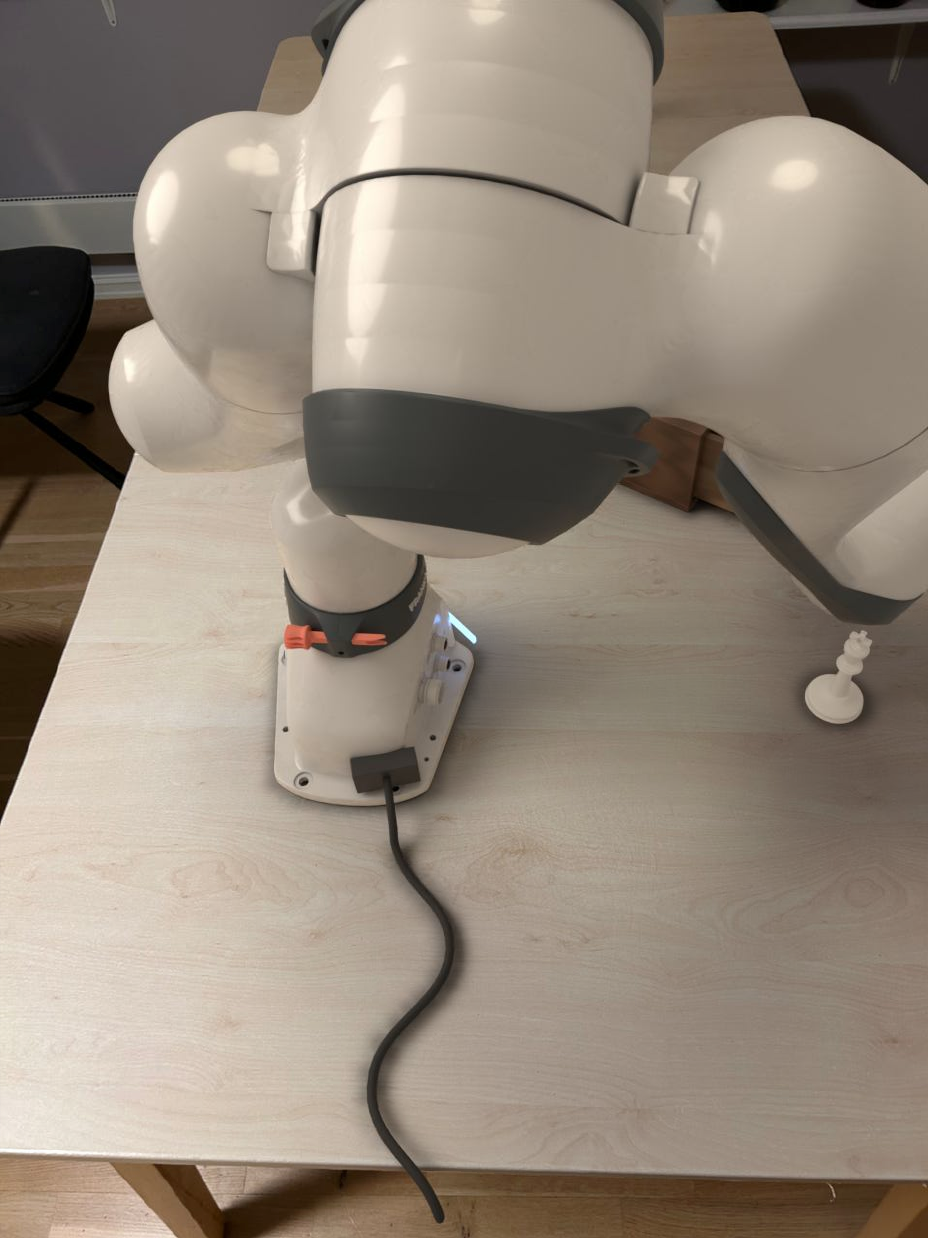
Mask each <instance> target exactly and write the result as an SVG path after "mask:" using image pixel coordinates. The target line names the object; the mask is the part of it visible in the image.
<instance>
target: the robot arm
mask: <svg viewBox="0 0 928 1238" xmlns="http://www.w3.org/2000/svg"><path fill="white" fill-rule="evenodd" d="M310 39H311V41H312V43H313V45H314V47H315V49H316V51H317V52H318V54H319V56H320V57H321V58H322V59H323V60H322V65H321V70H320V73H321V77H322V80H321V81H320V84H319V86H318V88H317V91H316V93H315V95H314V97H313V99H312V101H311V102H310V103H309V104H308V105H307V106H306V107H304V109H303V110H301V111H300V112H298V113H294V114H280V113H279V114H278V113H273V112H266V111H257V110H256V111H255V110H240V111H227V112H224V113H219V114H215V115H212V116H209V117H207V118H204V119H202V120H200V121H199V120H198V121H197V122H195V123H193V124H192V125H190V126H188V127H186V128H185V129H183V130H182V131H180V132H179V133H177V134H176V135H175V136H174V137H173V138H172V139H171V140H169V141H168V142H167V143H166V144H165V146H163V148H162V149H161V150H160V151H159V152H158V154H157V155H155V158H154V159H153V161H152V162H151V163H150V165H149V167H148V168H147V170H146V172H145V174H144V177H143V179H142V181H141V182H140V186H139V189H138V193H137V196H136V199H135V205H134V211H133V219H132V242H133V249H134V259H135V265H136V269H137V274H138V278H139V282H140V285H141V289H142V292H143V296H144V298H145V301H146V303H147V307H148V308H149V311H150V313H151V316H152V318H153V319H151V320H149V321H147V322H144V323H142V324H141V325H138V326H136V327H134V328H131V329H129V330H127V331H126V332H125V333H124V334H123V336H122V337H121V338H120V341H119V342H118V344H117V346H116V348H115V350H114V353H113V356H112V359H111V362H110V368H109V372H108V394H109V402H110V403H109V404H110V408H111V411H112V414H113V417H114V420H115V422H116V424H117V426H118V428H119V430H120V432H121V434H122V435H123V437H124V439H125V440H126V442H127V443H128V444H129V445H130V446H131V448H132V449H133V450H134V451H135V452H136V453H137V454H138V455H139V456H140V457H141V458H142V459H143V460H144V461H146V462H147V463H148V464H149V465H151V466H153V467H154V468H156V469H157V470H159V471H161V472H163V473H175V474H177V473H178V474H180V473H181V474H194V473H195V474H202V473H203V474H204V473H206V474H207V473H208V474H209V473H231V472H234V473H235V472H241V471H247V470H252V469H256V468H262V467H267V466H272V465H278V464H282V463H287V462H291V463H290V464H289V465H288V466H287V467H286V468H285V470H284V471H283V473H282V475H281V476H280V477H279V480H278V482H277V484H276V485H275V488H274V490H273V492H272V495H271V499H270V502H269V508H268V515H269V516H268V517H269V518H268V519H269V525H270V528H271V530H272V534H273V537H274V541H275V543H276V546H277V547H276V548H277V550H278V551H279V555H280V556H279V557H280V559H281V562H282V564H283V581H284V583H283V591H284V601H285V604H286V627H285V629H284V635H283V637H284V638H283V643H282V644H281V645H280V647H279V649H278V663H277V664H278V665H277V686H276V687H277V688H276V709H275V710H276V711H275V738H274V757H273V758H274V763H273V764H274V765H273V774H274V777H275V781H276V782H277V784H279V785H280V786H281V787H283V789H285V790H287V791H289V792H290V793H292V794H294V795H295V796H299V797H301V798H304V799H307V800H311V801H314V802H319V803H325V804H329V805H338V806H339V805H340V806H353V807H354V806H356V807H357V806H358V807H371V806H372V807H374V806H384V805H385V809H386V815H387V825H388V833H389V834H388V835H389V836H388V837H389V844H390V849H391V851H392V854H393V857H394V860H395V863H396V864H397V866H398V868H399V870H400V871H401V873H402V875H403V876H404V877H405V879H406V880H407V882H408V883H409V884H410V885H411V887H412V888H413V889H414V890H415V892H417V894H418V895H419V896H420V897H421V898H422V899H423V900H424V902H425V903H426V904H427V905H428V906H429V907H430V909H431V910H432V912H433V913H434V914H435V916H436V918H437V920H438V921H439V923H440V926H441V928H442V931H443V936H444V943H445V944H444V945H445V948H444V949H445V950H444V958H443V963H442V966H441V968H440V971H439V973H438V975H437V977H436V978H435V979H434V982H433V983H432V985H431V986H430V987H429V989H427V991H426V992H425V994H424V995H423V996H422V997H421V998H419V1000H418V1001H417V1002H416V1003H415V1004H414V1005H413V1007H411V1008H410V1009H409V1010H408V1011H407V1012H406V1013H405V1014H404V1015H403V1016H402V1017H401V1018H400V1019H399V1020H398V1021H397V1023H396V1024H395V1025H394V1026H393V1027H392V1028H391V1029H390V1030H389V1032H388V1033H387V1034H386V1035H385V1036H384V1038H383V1039H382V1040H381V1042H380V1044H379V1045H378V1047H377V1049H376V1051H375V1053H374V1055H373V1057H372V1059H371V1063H370V1066H369V1069H368V1073H367V1081H366V1103H367V1109H368V1112H369V1115H370V1118H371V1121H372V1124H373V1126H374V1128H375V1130H376V1132H377V1134H378V1136H379V1137H380V1139H381V1141H382V1142H383V1144H384V1146H386V1148H387V1149H388V1150H389V1152H390V1153H391V1155H393V1158H395V1159H396V1161H397V1162H398V1163H399V1164H400V1165H401V1167H402V1168H403V1169H404V1170H405V1172H406V1173H407V1174H408V1175H409V1176H410V1178H411V1179H412V1180H413V1182H414V1183H415V1184H416V1186H417V1187H418V1189H419V1190H420V1192H421V1193H422V1195H423V1196H424V1198H425V1200H426V1203H427V1204H428V1207H429V1208H430V1211H431V1214H432V1216H433V1218H434V1221H435V1222H436V1223H437V1224H443V1223H444V1221H445V1218H446V1215H445V1212H444V1210H443V1207H442V1204H441V1202H440V1200H439V1197H438V1196H437V1194H436V1192H435V1190H434V1188H433V1187H432V1185H431V1184H430V1182H429V1180H428V1179H427V1177H426V1176H425V1175H424V1173H423V1172H422V1171H421V1169H420V1168H419V1167H418V1165H417V1164H416V1163H415V1162H414V1161H413V1159H412V1158H411V1157H410V1156H409V1155H408V1154H407V1152H406V1151H405V1150H404V1149H403V1148H402V1147H401V1145H400V1144H399V1143H398V1141H397V1139H395V1137H394V1136H393V1135H392V1133H391V1132H390V1129H388V1127H387V1126H386V1123H385V1121H384V1119H383V1117H382V1113H381V1111H380V1108H379V1102H378V1092H377V1087H378V1079H379V1072H380V1069H381V1066H382V1063H383V1061H384V1059H385V1057H386V1055H387V1053H388V1051H389V1050H390V1049H391V1047H392V1045H393V1044H394V1043H395V1041H396V1040H397V1039H398V1038H399V1037H400V1035H401V1034H402V1033H403V1032H404V1031H405V1030H406V1029H407V1028H408V1027H409V1026H410V1025H411V1024H412V1023H413V1022H414V1021H415V1020H416V1019H417V1018H418V1017H419V1016H420V1015H421V1014H422V1012H423V1011H424V1010H425V1009H426V1008H427V1007H428V1006H429V1005H430V1004H431V1003H432V1002H433V1001H434V999H435V998H436V997H437V996H438V994H439V993H440V992H441V990H442V989H443V987H444V985H445V983H446V982H447V980H448V978H449V976H450V973H451V970H452V967H453V964H454V958H455V957H454V956H455V937H454V933H453V928H452V924H451V921H450V918H449V917H448V915H447V913H446V911H445V910H444V908H443V907H442V906H441V904H440V903H439V902H438V900H437V899H436V898H435V897H434V896H433V895H432V893H431V892H430V891H429V890H428V889H427V888H426V886H424V884H423V883H422V882H421V881H420V880H419V879H418V877H417V876H416V875H415V873H414V872H413V871H412V869H411V867H410V866H409V865H408V863H407V860H406V858H405V857H404V854H403V852H402V850H401V846H400V842H399V831H398V829H399V828H398V820H397V812H396V805H395V804H396V803H397V804H398V803H400V802H401V803H402V802H404V801H407V800H410V799H413V798H416V797H418V796H419V795H422V794H423V793H425V792H427V791H428V790H429V788H431V787H430V786H431V784H432V783H433V780H434V777H435V775H436V772H437V769H438V766H439V763H440V761H441V758H442V755H443V752H444V750H445V748H446V747H445V746H446V743H447V741H448V738H449V736H450V734H451V730H452V728H453V725H454V722H455V719H456V717H457V713H458V711H459V708H460V706H461V702H462V699H463V697H464V695H465V691H466V689H467V686H468V683H469V680H470V677H471V675H472V672H473V669H474V666H475V660H474V656H473V653H472V651H471V650H470V649H469V648H468V647H466V646H465V645H464V644H462V643H461V642H459V641H457V640H456V639H455V635H454V629H453V626H454V627H455V628H456V629H458V631H460V632H461V633H462V634H463V635H464V636H465V637H466V638H467V639H468V640H470V642H472V644H476V642H477V637H476V635H475V634H473V633H472V632H471V631H470V630H469V629H468V628H467V627H466V626H465V625H463V624H462V622H461V621H459V619H457V618H456V617H455V616H454V615H453V614H452V613H451V612H450V611H449V607H448V603H447V602H446V601H445V600H444V598H443V597H442V596H441V595H440V594H438V592H437V591H436V590H435V589H434V588H433V587H432V586H431V584H430V583H429V582H428V575H427V573H428V571H427V563H426V558H425V556H426V557H431V558H438V559H449V560H470V559H471V560H472V559H479V558H486V557H492V556H495V555H501V554H504V553H509V552H511V551H514V550H517V549H520V548H521V547H524V546H543V545H545V544H547V543H549V542H550V541H552V540H554V539H556V538H557V537H559V536H561V535H563V534H564V533H566V532H568V531H570V530H571V529H572V528H574V527H576V526H577V525H579V523H581V522H582V521H584V520H585V519H587V518H589V517H590V516H592V515H593V514H594V513H595V512H596V510H597V509H599V507H600V506H601V504H602V503H604V501H605V500H606V499H607V498H608V497H609V495H610V494H611V493H612V491H613V490H614V489H615V488H616V486H617V485H618V484H620V483H619V481H620V480H621V479H622V478H623V477H634V476H641V475H644V474H647V473H649V472H650V471H651V469H652V468H653V466H654V464H655V463H656V461H657V459H658V457H659V451H658V449H657V448H656V447H654V446H653V445H652V444H650V443H648V442H645V441H643V440H639V439H635V438H633V437H634V436H635V434H636V433H637V432H638V431H639V430H640V429H641V427H642V426H643V425H645V424H646V423H647V422H648V421H650V419H651V417H670V418H680V419H685V420H688V421H692V422H695V423H698V424H700V425H703V426H705V427H708V428H710V429H712V430H713V431H715V432H717V433H718V434H720V435H721V436H723V437H724V438H725V439H724V445H723V450H721V451H720V454H719V458H718V461H717V465H716V468H715V472H714V474H715V478H716V482H717V485H718V487H719V490H720V492H721V494H722V496H723V498H724V499H725V501H726V503H727V504H728V505H729V507H730V508H731V509H732V511H733V512H734V513H733V512H732V513H733V514H734V515H735V516H736V517H737V519H739V521H740V522H741V524H742V525H744V527H745V529H747V530H748V532H749V533H750V534H751V535H752V536H753V537H754V538H755V539H756V540H757V542H758V543H759V544H760V545H761V546H762V547H763V548H764V549H765V550H766V551H767V552H768V554H769V555H771V556H772V557H773V558H774V559H775V560H776V561H777V563H779V564H780V565H781V566H782V567H783V568H784V569H785V570H786V571H787V572H788V574H789V576H790V578H791V579H792V581H793V582H794V584H795V585H796V586H797V587H798V589H799V590H800V591H801V592H802V594H804V596H805V597H806V598H808V600H810V601H811V602H812V603H813V604H814V605H815V606H816V607H818V608H819V609H820V610H821V611H823V612H825V613H826V614H828V615H830V616H832V617H834V618H836V619H837V620H838V621H839V622H841V623H843V624H849V625H857V626H884V625H890V624H892V623H893V622H894V621H895V620H896V619H897V618H898V617H900V616H901V615H902V614H904V612H905V611H906V610H907V609H909V608H910V607H911V606H912V605H913V604H915V602H917V601H918V600H919V599H920V598H921V597H922V596H924V594H925V592H926V591H928V184H927V183H926V182H925V181H924V180H923V179H921V178H920V176H918V175H917V174H916V173H915V172H914V171H912V170H911V169H910V168H909V167H907V166H906V165H905V164H904V163H902V162H901V161H900V160H899V159H897V158H896V157H895V156H894V155H892V154H891V153H889V152H888V151H886V149H884V148H882V147H881V146H879V145H878V144H876V143H874V142H872V141H871V140H868V139H867V138H865V137H863V136H862V135H860V134H858V133H856V132H855V131H853V130H852V129H849V128H847V127H846V126H843V125H841V124H838V123H835V122H832V121H830V120H827V119H823V118H819V117H812V116H805V115H777V116H771V117H764V118H758V119H755V120H752V121H748V122H744V123H740V124H739V125H737V126H734V127H732V128H730V129H728V130H725V131H723V132H721V133H719V134H718V135H716V136H714V137H713V138H711V139H709V140H707V141H706V142H704V143H702V144H701V145H699V147H697V148H696V149H694V150H693V151H692V152H691V153H689V154H687V156H686V157H684V158H683V159H682V160H681V161H680V162H679V163H678V164H677V165H676V166H675V167H674V168H673V169H672V170H671V172H669V173H668V175H665V174H659V173H654V172H650V167H651V152H652V133H653V131H652V130H653V113H654V112H653V111H654V87H655V86H656V83H657V82H658V81H659V78H660V77H661V74H662V71H663V67H664V62H665V21H664V4H663V0H334V1H332V2H331V3H330V4H329V5H328V6H327V7H325V8H324V9H323V10H322V11H321V12H320V13H319V16H318V17H317V19H316V20H315V23H314V25H313V26H312V28H311V30H310ZM455 670H459V671H455ZM304 782H308V783H307V784H306V785H302V784H303V783H304ZM394 788H398V790H396V791H394V790H393V789H394Z"/></svg>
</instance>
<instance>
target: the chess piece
mask: <svg viewBox="0 0 928 1238" xmlns="http://www.w3.org/2000/svg"><path fill="white" fill-rule="evenodd" d="M867 634H868V632H867V631H865V630H863V629H862V630H861V631H860V633H858V632H856V631H854V630H853V631H852V632H850V634H849V636H848V638H849V639H847V640H845V642H844V643H843V644H844V645H843V651H844V653H842V654H841V655H839V656H838V657H837V658H836V663H835V664H836V667H837V669H838V671H837V673H835V674H834V673H830V674H829V673H827V674H821V675H819V676H816V677H814V678H813V680H811V681H810V683H809V684H808V685H807V687H806V688H805V692H804V701H805V704H806V706H807V707H808V709H809V711H810V712H811V713H812V714H813V715H814V716H816V717H817V718H818V719H820V720H822V721H824V722H828V723H830V724H836V725H839V724H840V725H841V724H847V723H850V722H854V721H855V720H856V719H857V718H858V717H859V716H861V714H862V711H863V709H864V708H863V707H864V695H863V693H862V691H861V689H860V688H859V686H858V685H857V684H856V683H855V682H853V680H852V677H853V676H856V675H858V674H861V672H862V671H863V668H864V666H863V665H864V664H863V660H864V659H865V658H866V657H868V656H869V654H870V651H871V649H870V647H871V645H872V643H873V640H872V639H870V638H868V637H867Z"/></svg>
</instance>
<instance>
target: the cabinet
mask: <svg viewBox="0 0 928 1238" xmlns="http://www.w3.org/2000/svg"><path fill="white" fill-rule="evenodd" d="M709 430H710V428H708V427H705V426H703V425H700V424H698V423H695V422H692V421H688V420H685V419H680V418H670V417H651V419H650V421H648V422H647V423H646V424H645V425H643V426H642V427H641V429H640V430H639V431H638V432H637V433H636V434H635V436H634V437H633V438H635V439H639V440H643V441H645V442H648V443H650V444H652V445H653V446H654V447H656V448H657V449H658V451H659V457H658V459H657V461H656V463H655V464H654V466H653V468H652V469H651V471H650V472H649V473H647V474H644V475H641V476H634V477H623V478H622V479H621V480H620V481H619V483H618V484H619V485H621V486H624V487H626V488H629V489H631V490H634V491H636V492H639V493H640V494H644V495H646V496H648V497H650V498H653V499H655V500H658V501H660V502H662V503H664V504H667V505H670V506H671V507H673V508H676V509H679V510H681V511H684V512H686V513H689V512H690V511H691V510H692V508H693V507H694V506H695V504H696V503H697V502H698V501H699V500H700V499H699V498H697V497H694V496H693V495H694V489H695V484H696V478H697V472H698V467H699V461H700V455H701V450H702V444H703V438H704V436H705V435H706V434H707V433H708V431H709Z"/></svg>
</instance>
